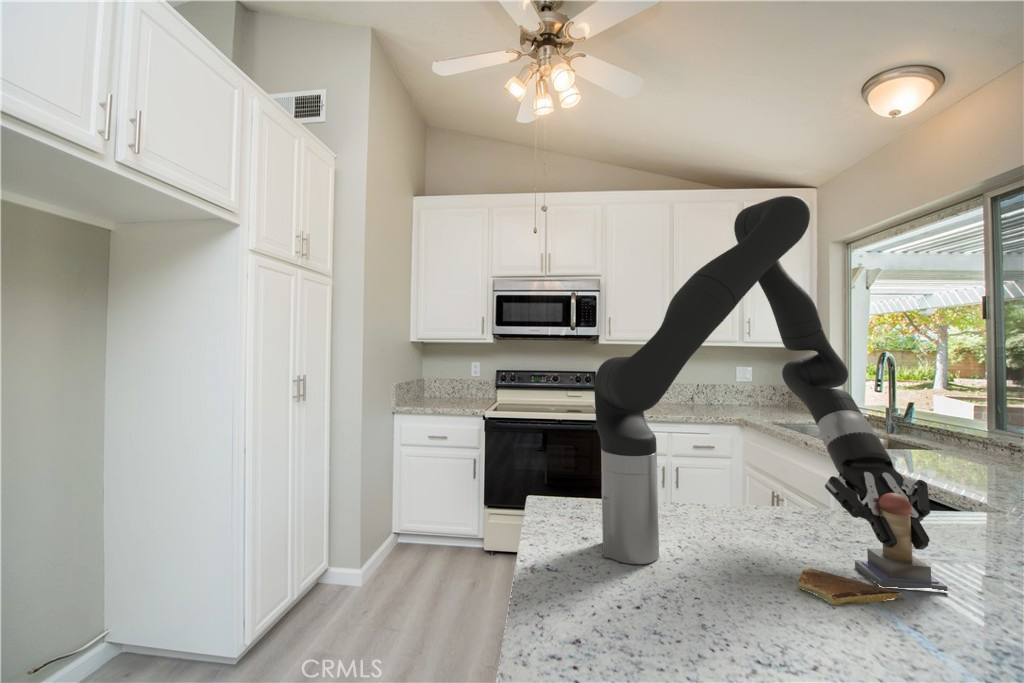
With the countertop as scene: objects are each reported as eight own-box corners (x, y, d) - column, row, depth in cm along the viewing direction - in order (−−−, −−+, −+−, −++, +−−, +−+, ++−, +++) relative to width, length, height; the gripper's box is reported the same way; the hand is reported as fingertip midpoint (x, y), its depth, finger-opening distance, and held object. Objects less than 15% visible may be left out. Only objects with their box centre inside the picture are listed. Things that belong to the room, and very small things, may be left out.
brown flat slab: (902, 603, 56) (901, 589, 56) (903, 631, 50) (902, 616, 51) (804, 575, 63) (804, 564, 63) (796, 597, 58) (795, 584, 58)
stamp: (890, 578, 59) (886, 498, 60) (867, 561, 64) (864, 487, 65) (931, 581, 58) (927, 500, 59) (905, 563, 63) (901, 489, 64)
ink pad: (880, 587, 59) (880, 579, 59) (855, 566, 65) (854, 559, 65) (947, 593, 57) (947, 584, 57) (915, 571, 63) (914, 563, 63)
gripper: (813, 429, 71) (861, 532, 58) (909, 431, 68) (982, 539, 55) (799, 454, 76) (841, 553, 63) (888, 456, 73) (951, 560, 60)
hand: (907, 545), depth 59 cm, fingers closed on stamp, 3 cm apart
